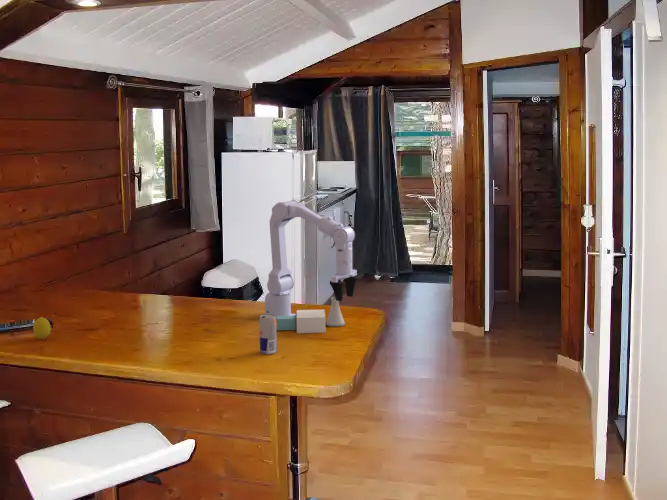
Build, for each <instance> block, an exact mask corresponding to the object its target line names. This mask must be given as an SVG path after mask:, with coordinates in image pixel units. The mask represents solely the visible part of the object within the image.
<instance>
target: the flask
mask: <svg viewBox="0 0 667 500" xmlns="http://www.w3.org/2000/svg"><path fill="white" fill-rule="evenodd" d="M330 300H331V304H330V309H329V313H328V316H327V318H326V320H325V324H326V326H328V327H332V328H333V327H343V326H345V325H346V322H345V320H344V316H343V314H342V311H341V308H340V301H336V298H335V296H332V297H330Z"/></svg>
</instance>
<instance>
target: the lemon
mask: <svg viewBox="0 0 667 500" xmlns="http://www.w3.org/2000/svg"><path fill="white" fill-rule="evenodd" d="M32 328H33V329H32V330H33V333H34V335H35V337H36V338H39V339H41V340H42V339H43V340H45V339H46V338H47V337H48V336H49V335H50V334H51V324H50V322H49V320H48V319H47V318H45V317H43V316H40V317H39V318H37V319H36V320H35V321H34V322H33V327H32ZM44 338H45V339H44Z"/></svg>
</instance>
